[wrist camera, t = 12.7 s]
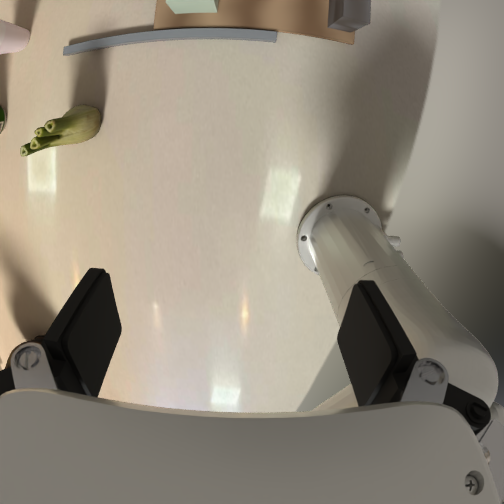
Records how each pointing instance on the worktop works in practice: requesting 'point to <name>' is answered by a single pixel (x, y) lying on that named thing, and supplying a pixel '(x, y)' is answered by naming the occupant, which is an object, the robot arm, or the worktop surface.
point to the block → (193, 6)
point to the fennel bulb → (66, 129)
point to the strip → (276, 17)
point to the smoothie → (12, 37)
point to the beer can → (2, 119)
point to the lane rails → (172, 37)
